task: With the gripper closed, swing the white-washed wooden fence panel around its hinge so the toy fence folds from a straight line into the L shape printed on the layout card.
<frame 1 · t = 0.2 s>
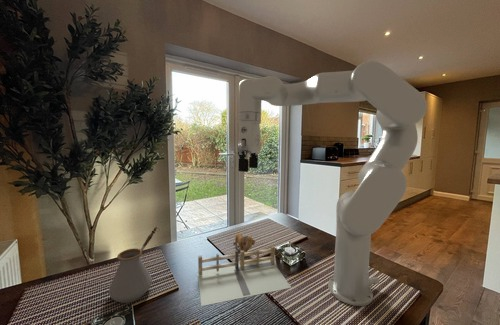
hand: (248, 169, 74), 37 cm above the table, tool pointing down, fingers open, 9 cm apart
layout card: (241, 279, 73), on the table
lion figurine: (243, 252, 91), on the table
fixed fence: (256, 266, 80), resting on layout card
coffee pot: (141, 283, 70), on the table
fence panel: (219, 262, 75), point 4 cm above the table, hinge at 0.0°
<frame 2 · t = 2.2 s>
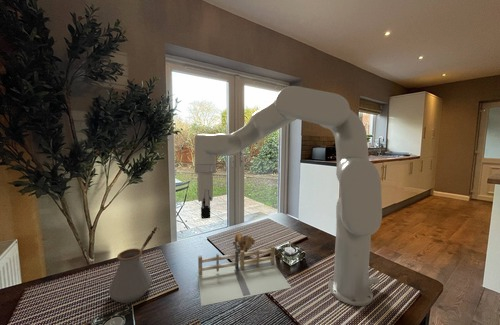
hand: (205, 217, 80), 18 cm above the table, tool pointing down, fingers closed
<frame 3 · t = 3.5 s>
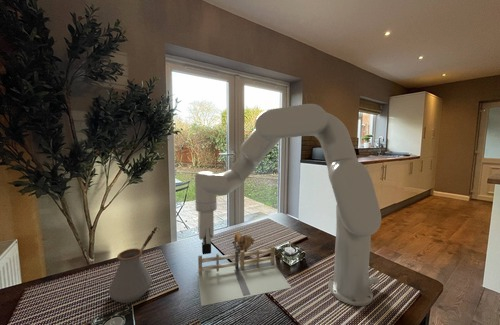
hand: (206, 252, 81), 5 cm above the table, tool pointing down, fingers closed
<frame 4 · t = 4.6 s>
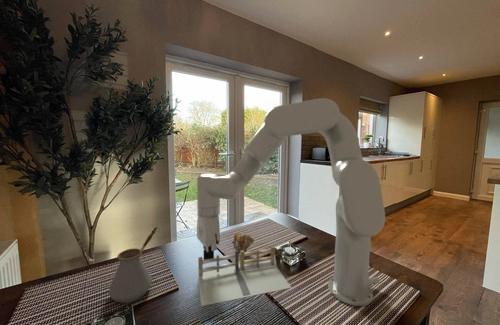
hand: (208, 260, 76), 5 cm above the table, tool pointing down, fingers closed
fence panel: (219, 263, 75), point 4 cm above the table, hinge at 4.5°, touching gripper
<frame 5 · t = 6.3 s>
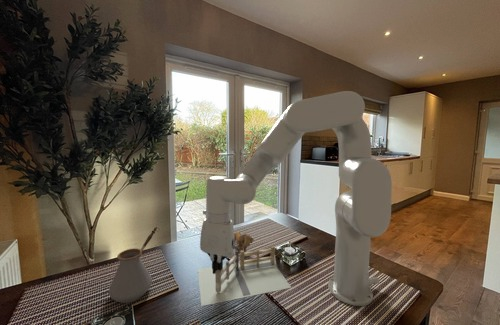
hand: (217, 271, 69), 5 cm above the table, tool pointing down, fingers closed
fence panel: (228, 269, 71), point 4 cm above the table, hinge at 50.9°, touching gripper
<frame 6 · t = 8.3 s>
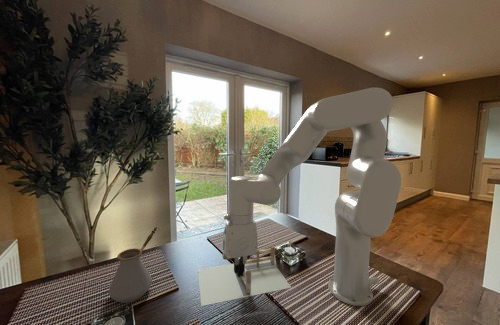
hand: (239, 274, 67), 5 cm above the table, tool pointing down, fingers closed
fence panel: (242, 269, 71), point 4 cm above the table, hinge at 92.7°, touching gripper
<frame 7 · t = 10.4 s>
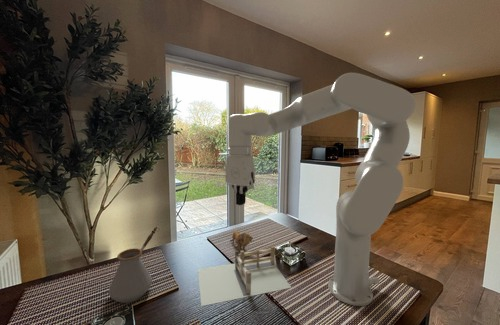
hand: (240, 203, 75), 25 cm above the table, tool pointing down, fingers closed
fence panel: (242, 269, 71), point 4 cm above the table, hinge at 92.7°
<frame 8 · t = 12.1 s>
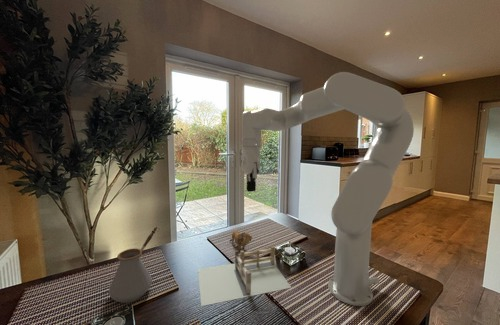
hand: (251, 190, 84), 27 cm above the table, tool pointing down, fingers closed
at the end: fence panel at +93° (first picture: +0°) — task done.
